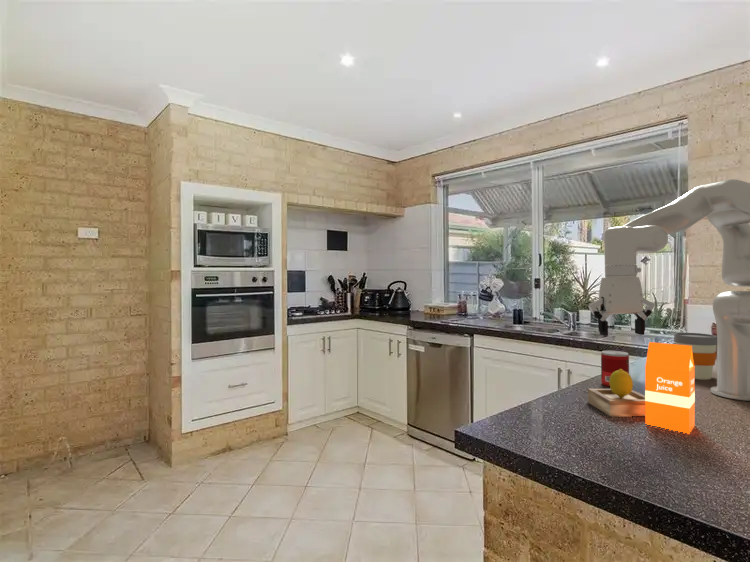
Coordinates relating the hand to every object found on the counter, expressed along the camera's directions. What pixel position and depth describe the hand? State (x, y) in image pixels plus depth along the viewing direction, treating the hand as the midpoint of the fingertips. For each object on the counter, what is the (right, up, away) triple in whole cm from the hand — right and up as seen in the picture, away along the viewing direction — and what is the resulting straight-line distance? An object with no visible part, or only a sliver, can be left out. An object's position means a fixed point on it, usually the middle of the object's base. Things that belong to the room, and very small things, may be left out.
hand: (621, 334), depth 114 cm
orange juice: (+4, -21, -12) cm, 25 cm away
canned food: (+12, -20, +25) cm, 34 cm away
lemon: (0, -18, 0) cm, 18 cm away
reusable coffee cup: (+48, -20, +36) cm, 63 cm away
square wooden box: (0, -21, 0) cm, 21 cm away
